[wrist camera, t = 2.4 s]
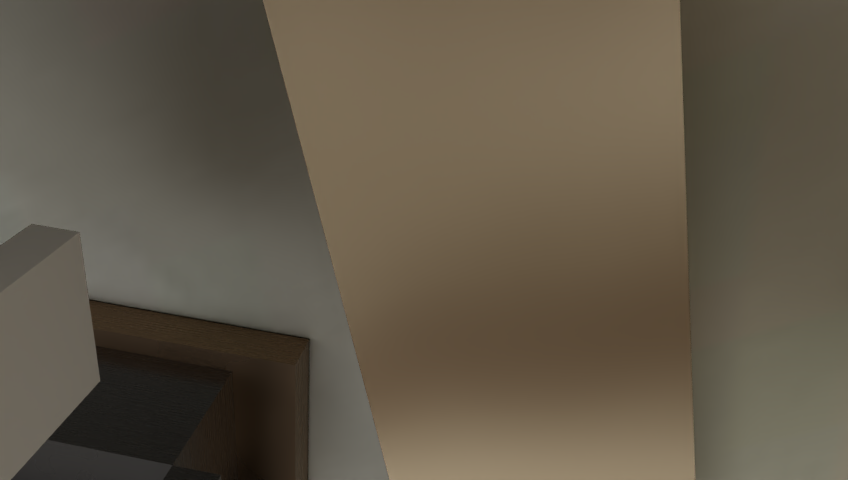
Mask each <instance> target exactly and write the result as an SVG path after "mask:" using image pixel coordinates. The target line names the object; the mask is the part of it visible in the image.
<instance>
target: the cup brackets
mask: <svg viewBox="0 0 848 480" xmlns="http://www.w3.org/2000/svg"><path fill="white" fill-rule="evenodd" d="M89 304H90V311H91V318H92V325H93V332H94V339H95V347H96V354H97V361H98V368H99V375H100V382H99V383H98V384H97V385H96V386H95V387H94V388H93V389H92V391H91V392H90V393H89V394H88V395H87V396H86V397H85V398H84V399H83V401H82V402H81V403H80V404H79V405H78V406H77V407H76V408H75V409H74V410H73V412H72V413H71V414H70V415H69V416H68V417H67V418H66V419H65V420H64V422H63V423H62V424H61V425H60V426H59V427H58V428H57V429H56V430H55V431H54V433H53V434H52V435H51V436H50V437H49V438H48V439H47V440H46V441H45V443H44V444H43V445H42V446H41V447H40V448H39V449H38V450H37V451H36V453H35V454H34V455H33V456H32V457H31V458H30V459H29V460H28V461H27V462H26V464H25V465H24V466H23V467H22V468H21V469H20V470H19V471H18V472H17V474H16V475H15V476H14V477H13V478H12V479H11V480H307V476H308V385H309V340H308V339H303V338H297V337H292V336H286V335H280V334H275V333H269V332H264V331H258V330H252V329H247V328H241V327H236V326H230V325H224V324H219V323H213V322H208V321H202V320H196V319H191V318H185V317H180V316H174V315H168V314H163V313H157V312H151V311H146V310H140V309H135V308H129V307H123V306H118V305H112V304H107V303H101V302H95V301H90V300H89Z"/></svg>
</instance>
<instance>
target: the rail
mask: <svg viewBox="0 0 848 480" xmlns="http://www.w3.org/2000/svg"><path fill="white" fill-rule="evenodd" d="M263 3H264V7H265V11H266V15H267V18H268V22H269V26H270V30H271V33H272V37H273V41H274V45H275V49H276V52H277V56H278V60H279V64H280V67H281V71H282V75H283V79H284V83H285V86H286V90H287V94H288V98H289V101H290V105H291V109H292V113H293V117H294V120H295V124H296V128H297V132H298V136H299V139H300V143H301V147H302V151H303V154H304V158H305V162H306V166H307V170H308V173H309V177H310V181H311V185H312V188H313V192H314V196H315V200H316V204H317V207H318V211H319V215H320V219H321V222H322V226H323V230H324V234H325V238H326V241H327V245H328V249H329V253H330V256H331V260H332V264H333V268H334V272H335V275H336V279H337V283H338V287H339V291H340V294H341V298H342V302H343V306H344V309H345V313H346V317H347V321H348V325H349V328H350V332H351V336H352V340H353V343H354V347H355V351H356V355H357V359H358V362H359V366H360V370H361V374H362V377H363V381H364V385H365V389H366V393H367V396H368V400H369V404H370V408H371V412H372V415H373V419H374V423H375V427H376V430H377V434H378V438H379V442H380V446H381V449H382V453H383V457H384V461H385V464H386V468H387V472H388V476H389V480H695V454H694V423H693V392H692V361H691V330H690V299H689V268H688V237H687V206H686V175H685V144H684V113H683V82H682V51H681V20H680V0H263Z"/></svg>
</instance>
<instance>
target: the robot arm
mask: <svg viewBox="0 0 848 480" xmlns="http://www.w3.org/2000/svg"><path fill="white" fill-rule="evenodd" d="M99 382H100V375H99V368H98V361H97V354H96V347H95V339H94V332H93V325H92V318H91V311H90V304H89V297H88V289H87V282H86V275H85V268H84V261H83V254H82V247H81V239H80V232H76V231H70V230H64V229H58V228H53V227H47V226H41V225H35V224H31V225H29V226H28V227H27V228H25V229H24V230H22V231H21V232H19V233H18V234H16V235H15V236H13V237H12V238H11V239H9V240H8V241H6V242H5V243H3V244H2V245H0V480H11V479H12V478H13V477H14V476H15V475H16V474H17V472H18V471H19V470H20V469H21V468H22V467H23V466H24V465H25V464H26V462H27V461H28V460H29V459H30V458H31V457H32V456H33V455H34V454H35V453H36V451H37V450H38V449H39V448H40V447H41V446H42V445H43V444H44V443H45V441H46V440H47V439H48V438H49V437H50V436H51V435H52V434H53V433H54V431H55V430H56V429H57V428H58V427H59V426H60V425H61V424H62V423H63V422H64V420H65V419H66V418H67V417H68V416H69V415H70V414H71V413H72V412H73V410H74V409H75V408H76V407H77V406H78V405H79V404H80V403H81V402H82V401H83V399H84V398H85V397H86V396H87V395H88V394H89V393H90V392H91V391H92V389H93V388H94V387H95V386H96V385H97V384H98V383H99Z"/></svg>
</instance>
